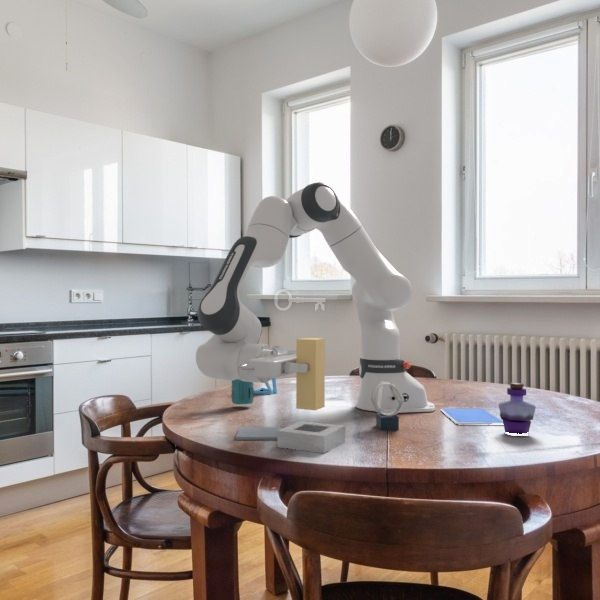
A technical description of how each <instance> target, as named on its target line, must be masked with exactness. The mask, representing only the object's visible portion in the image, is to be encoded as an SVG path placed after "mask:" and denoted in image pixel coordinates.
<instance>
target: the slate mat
mask: <svg viewBox="0 0 600 600" xmlns="http://www.w3.org/2000/svg"><path fill="white" fill-rule="evenodd" d="M280 429H282V426H240V427H239V428H238V430H237V433H236V435H235V440H236V441H243V440H244V441H246V440H247V441H252V440H253V441H264V440H265V441H274V440H276V441H277V431H278V430H280Z"/></svg>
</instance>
